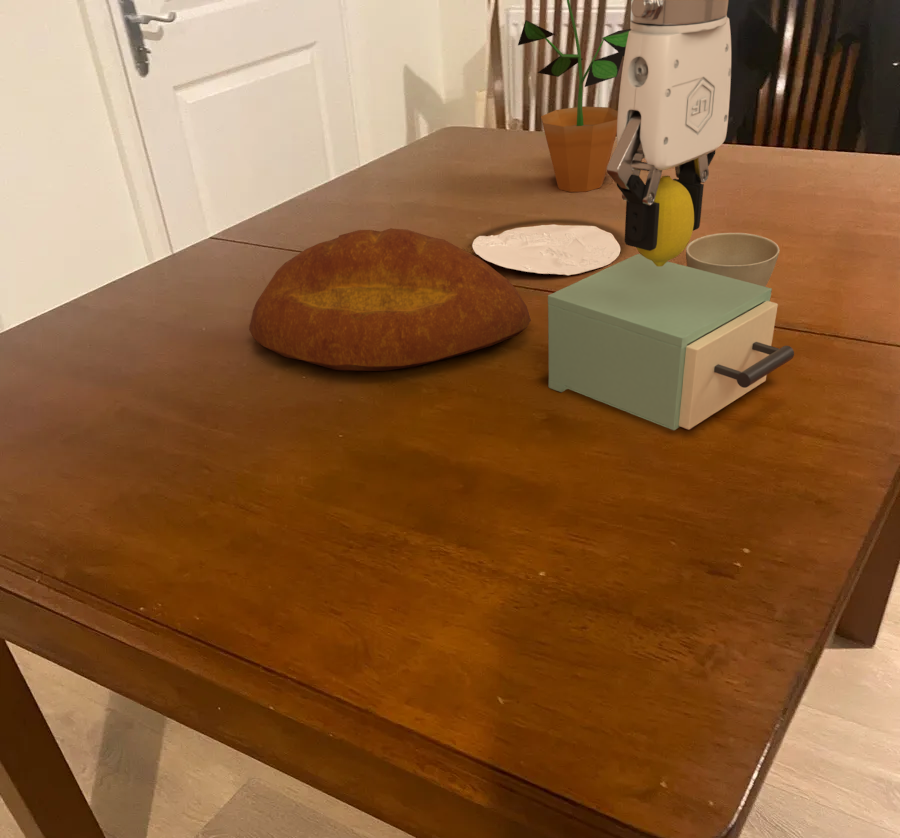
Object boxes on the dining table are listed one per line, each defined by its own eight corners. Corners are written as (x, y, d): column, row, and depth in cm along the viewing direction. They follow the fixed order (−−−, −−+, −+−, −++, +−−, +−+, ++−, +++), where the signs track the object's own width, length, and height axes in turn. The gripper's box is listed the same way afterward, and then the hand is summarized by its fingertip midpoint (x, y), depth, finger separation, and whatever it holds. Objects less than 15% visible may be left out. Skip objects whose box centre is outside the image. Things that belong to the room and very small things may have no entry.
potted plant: (509, 178, 153) (501, -40, 134) (617, 163, 154) (625, -54, 135) (536, 209, 139) (532, -28, 120) (654, 193, 141) (669, -44, 122)
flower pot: (665, 303, 109) (670, 242, 104) (740, 287, 111) (748, 227, 106) (707, 335, 102) (715, 270, 97) (787, 317, 103) (798, 254, 99)
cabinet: (757, 383, 92) (772, 288, 86) (673, 437, 86) (682, 338, 79) (633, 342, 102) (638, 253, 95) (548, 387, 95) (547, 295, 89)
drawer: (801, 392, 88) (816, 313, 83) (724, 444, 82) (735, 362, 77) (647, 341, 99) (652, 269, 94) (569, 383, 93) (570, 308, 88)
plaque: (452, 272, 121) (452, 261, 120) (496, 224, 135) (496, 213, 134) (603, 288, 116) (604, 276, 115) (631, 236, 130) (632, 226, 129)
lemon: (644, 281, 83) (650, 189, 78) (620, 261, 87) (623, 172, 82) (700, 271, 84) (709, 179, 79) (673, 251, 88) (680, 163, 83)
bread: (285, 305, 118) (265, 204, 110) (539, 304, 112) (538, 198, 104) (226, 381, 102) (198, 270, 94) (518, 385, 96) (515, 267, 88)
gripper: (649, 25, 66) (635, 274, 78) (782, -11, 74) (751, 218, 86) (570, 20, 71) (568, 256, 82) (704, -15, 79) (685, 204, 90)
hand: (662, 234), depth 84 cm, fingers closed on lemon, 5 cm apart
